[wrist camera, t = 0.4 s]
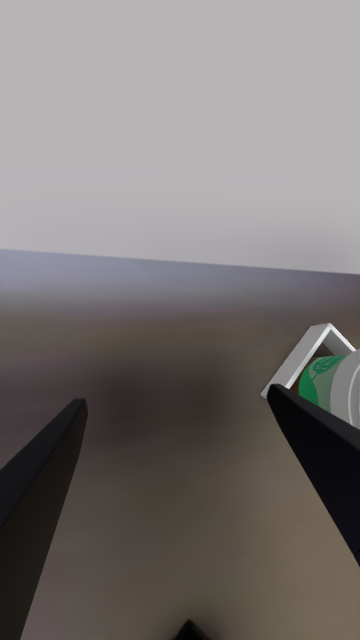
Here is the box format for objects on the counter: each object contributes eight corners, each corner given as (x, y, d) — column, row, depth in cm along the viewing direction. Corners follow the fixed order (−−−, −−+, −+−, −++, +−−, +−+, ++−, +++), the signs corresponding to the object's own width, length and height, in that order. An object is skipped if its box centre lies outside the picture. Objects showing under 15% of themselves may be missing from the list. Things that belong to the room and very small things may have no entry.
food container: (307, 332, 28) (395, 321, 18) (333, 363, 28) (434, 369, 18) (256, 389, 25) (329, 412, 15) (285, 425, 25) (377, 471, 15)
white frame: (347, 363, 28) (370, 365, 25) (301, 437, 25) (322, 449, 22) (310, 325, 28) (329, 322, 25) (260, 394, 25) (275, 399, 22)
